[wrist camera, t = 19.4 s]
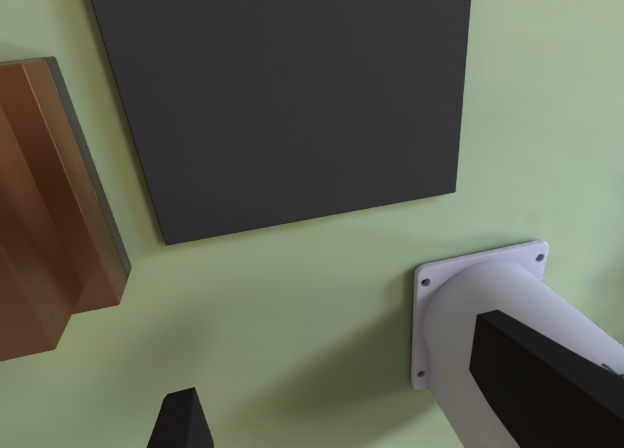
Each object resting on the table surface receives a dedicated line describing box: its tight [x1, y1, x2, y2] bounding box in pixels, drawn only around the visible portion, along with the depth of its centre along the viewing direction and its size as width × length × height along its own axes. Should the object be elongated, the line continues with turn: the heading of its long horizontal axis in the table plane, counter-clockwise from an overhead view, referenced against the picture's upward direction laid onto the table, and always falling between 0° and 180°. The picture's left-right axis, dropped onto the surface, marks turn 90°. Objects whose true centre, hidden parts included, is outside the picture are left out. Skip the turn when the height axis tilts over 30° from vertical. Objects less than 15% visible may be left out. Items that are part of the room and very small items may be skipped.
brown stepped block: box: [0, 56, 132, 361], centre depth 13 cm, size 9×4×6 cm, turn 6°
